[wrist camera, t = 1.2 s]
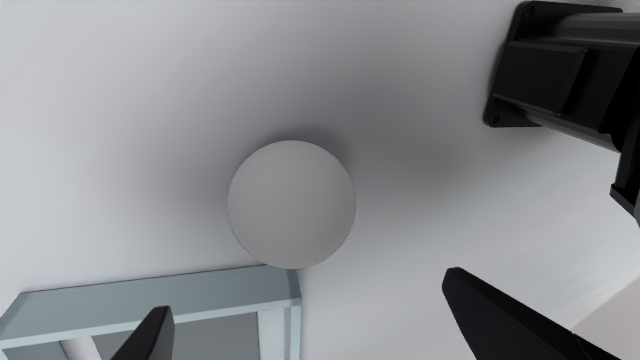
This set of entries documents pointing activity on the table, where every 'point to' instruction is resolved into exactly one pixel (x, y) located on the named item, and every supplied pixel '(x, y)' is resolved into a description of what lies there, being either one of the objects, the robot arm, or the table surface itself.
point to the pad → (200, 339)
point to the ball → (291, 204)
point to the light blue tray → (145, 308)
